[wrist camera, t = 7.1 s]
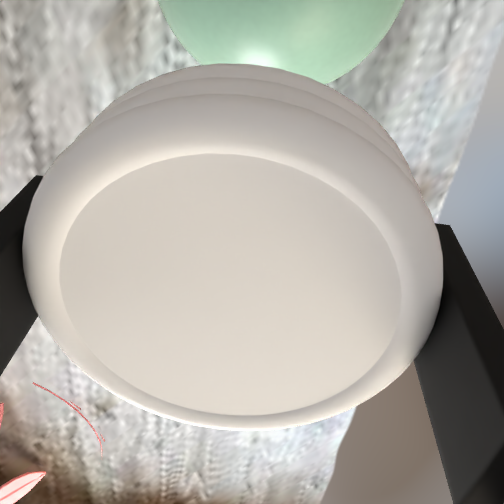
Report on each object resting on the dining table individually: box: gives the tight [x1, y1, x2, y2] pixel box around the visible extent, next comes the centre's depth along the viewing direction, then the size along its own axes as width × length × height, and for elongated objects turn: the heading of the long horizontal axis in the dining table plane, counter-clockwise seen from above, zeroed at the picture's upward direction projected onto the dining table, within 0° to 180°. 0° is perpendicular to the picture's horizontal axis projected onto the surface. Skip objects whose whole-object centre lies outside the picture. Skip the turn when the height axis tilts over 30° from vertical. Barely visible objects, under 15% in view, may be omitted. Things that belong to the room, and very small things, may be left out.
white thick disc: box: [22, 63, 443, 431], centre depth 12 cm, size 10×10×4 cm
